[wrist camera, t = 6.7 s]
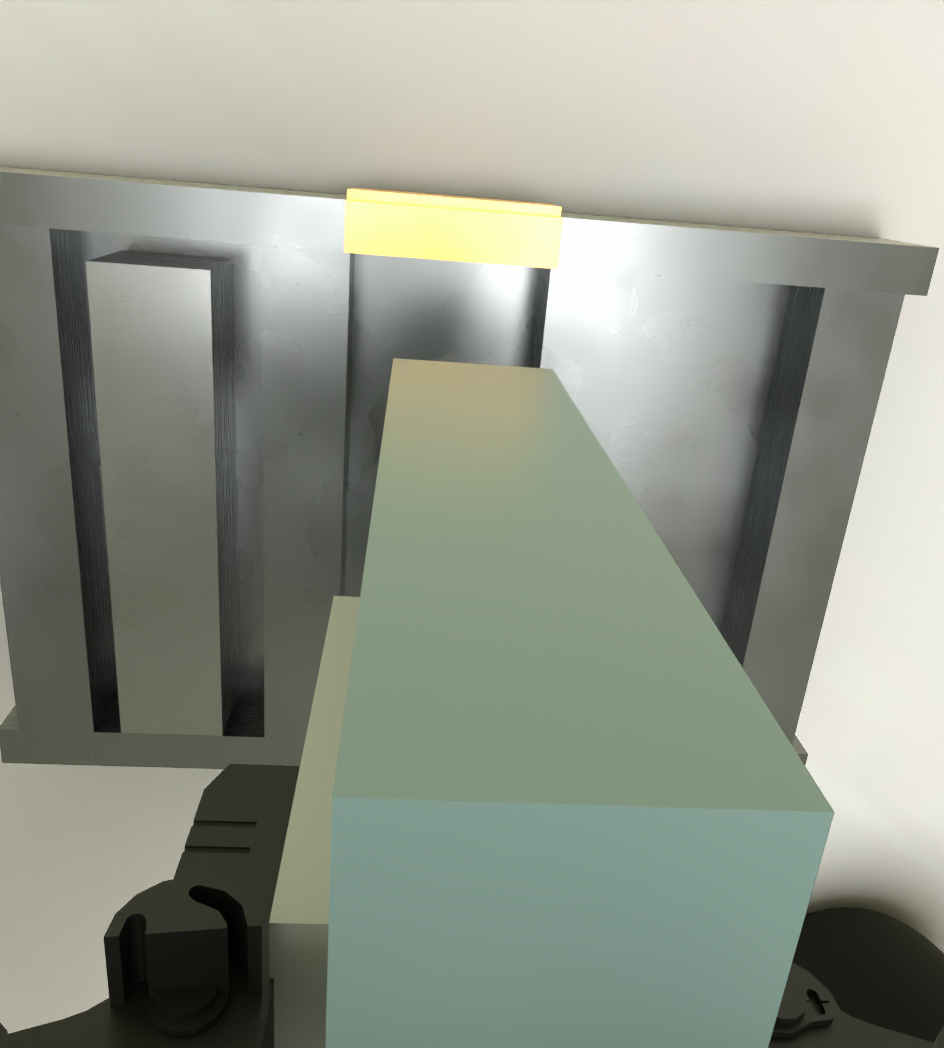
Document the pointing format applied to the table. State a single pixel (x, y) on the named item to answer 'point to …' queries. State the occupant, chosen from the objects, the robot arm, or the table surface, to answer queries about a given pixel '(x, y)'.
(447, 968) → the block
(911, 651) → the table surface
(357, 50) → the table surface
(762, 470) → the rack
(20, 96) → the table surface
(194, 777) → the table surface
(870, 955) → the mug
